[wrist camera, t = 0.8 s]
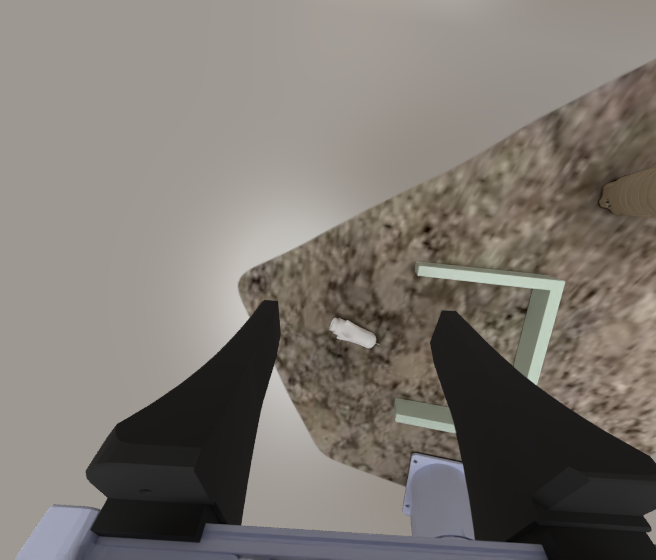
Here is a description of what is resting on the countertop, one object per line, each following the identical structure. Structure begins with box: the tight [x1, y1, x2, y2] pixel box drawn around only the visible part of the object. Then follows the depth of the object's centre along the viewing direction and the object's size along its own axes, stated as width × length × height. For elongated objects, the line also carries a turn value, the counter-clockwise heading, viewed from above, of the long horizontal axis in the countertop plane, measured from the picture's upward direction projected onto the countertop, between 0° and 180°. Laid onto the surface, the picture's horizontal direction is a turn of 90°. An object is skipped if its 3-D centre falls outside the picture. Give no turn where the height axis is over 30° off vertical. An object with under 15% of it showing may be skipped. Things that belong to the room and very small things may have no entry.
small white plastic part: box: [329, 318, 379, 348], centre depth 33 cm, size 4×6×3 cm, turn 38°
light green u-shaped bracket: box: [394, 261, 565, 433], centre depth 31 cm, size 18×13×3 cm
